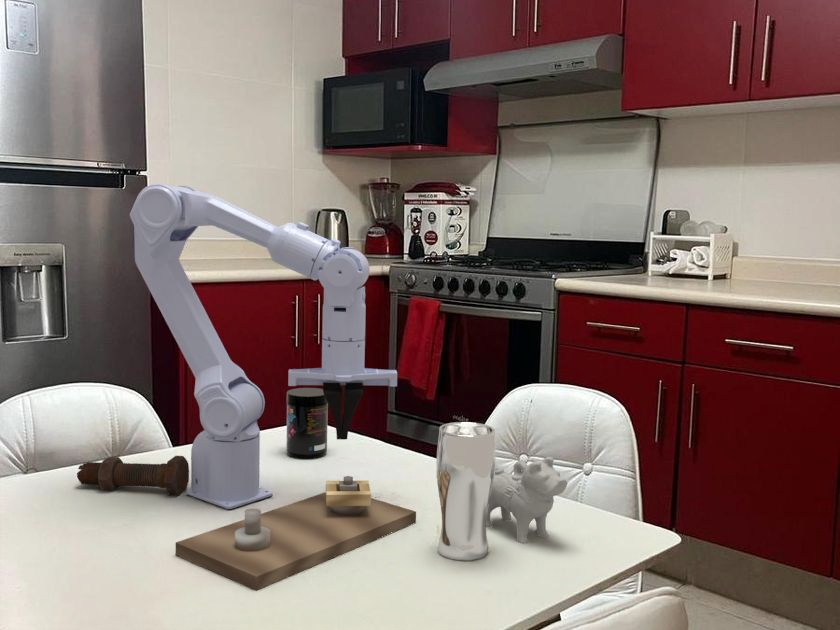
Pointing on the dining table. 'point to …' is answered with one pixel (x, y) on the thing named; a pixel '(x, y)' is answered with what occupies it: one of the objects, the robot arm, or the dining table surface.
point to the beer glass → (465, 488)
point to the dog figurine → (526, 495)
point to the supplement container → (306, 423)
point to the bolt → (136, 474)
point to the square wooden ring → (348, 495)
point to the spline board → (291, 537)
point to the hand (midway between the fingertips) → (341, 437)
